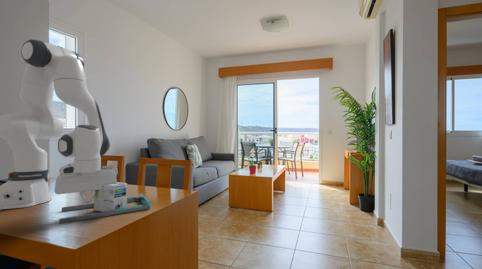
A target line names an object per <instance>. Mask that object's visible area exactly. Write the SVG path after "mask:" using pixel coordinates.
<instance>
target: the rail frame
mask: <svg viewBox="0 0 482 269" xmlns="http://www.w3.org/2000/svg"><path fill="white" fill-rule="evenodd" d="M133 202H141V204H139V205H133V206H127V207H125V208H118V209H115V210H112V211H106V212H102V211H98V212H94V213H87V214H82V215H74V216H69V217H68V216H67V217H62V218H59V220H58V224H59V225H61V224H66V223H67V224H68V223H73V222H78V221H85V220H91V219H97V218H103V217H109V216H110V217H111V216H115V215H121V214H128V213H134V212H140V211H145V210H150V209H151V208H152V207H151V201H150V199H149V198H147V196H145V195H144V194H143V193H139V196H138V197H136V196H131V197H127V203H133ZM91 208H94V202H90V203H83V204H78V205H70V206H63V207H61V213H63V212H70V211H76V210H84V209H91Z"/></svg>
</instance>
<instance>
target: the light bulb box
mask: <svg viewBox="0 0 482 269" xmlns="http://www.w3.org/2000/svg"><path fill="white" fill-rule="evenodd" d="M93 198H94V200H93V203H94V207H93V211H95V212H96V211H97V212H106V211H112V210H115V209H118V208H125V207H128V206H127V205H128V202H127V198H128V183H127V182H119V181H117V183H115V184H103V185H102V189H101V190H95V194H94V196H93Z"/></svg>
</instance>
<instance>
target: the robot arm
mask: <svg viewBox="0 0 482 269" xmlns="http://www.w3.org/2000/svg"><path fill="white" fill-rule="evenodd" d="M20 51H21V52H20V53H21V57H22V59H23V61H24V62H25V63H26V66H25V68H24V71H23V74H22V79H21V86H20V91H19V99H20V101H21V102H22V103H23V104H24V105H26V106H28V108H29V109H30V114H24V113H23V114H22V113H8V114H7V113H6V114H1V115H0V138H1V140H4V141H5V142H6V143H7V144H8V145H9V147H10V149H11V150H12V153H13V158H14V159H13V160H14V171H10V172H8V175H7V179H8V181H6V182H5V183H3V184H1V185H0V210H9V209H19V208H20V209H21V208H30V207H33V206H35V205H39V204H43V203H46V202H49V201H51V200H52V199H53V198H52V196H51V193H50V188H49V181H50V170H49V168H48V152H47V151H46V150H45V149H43V148H40V147H39V146H38V144H37V142H36V140H50V139H54V138H55V139H56V138H58V137H59V139H58V142H57V151H58V153H60V155H61V156H63V157H65V158H74V159H73V162H72V163H69V164H66V165H62V166H61V167H59V170H58V173H59V174H58V175H57V177H56V179H55V184H54V193H55V194H56V195H63V194H73V193H74V194H75V193H79V195H80V198H81V199H82V200H83V201H82V204H90V203H93V198H94V194H95V190H101V189H102V185H103V184H115V183H117V182H118V181H117V175H118V173H119V171H118V167H117V166H114V165H112V164H111V165H102V157H103V156H104V155H105V154H106V153H108V151H109V150H110V146H111V144H110V139H109V137H108V135H107V132H106V129H105V125H104V122H103V118H102V114H101V111H100V108H99V105H98V101H97V100H96V98H94V96H92V94H91V93H90V91H89V89H88V86H87V78H86V77H87V76H86V72H85V69H84V68H85V61H84V58H83V56H81V54H79V53H78V52H75V51H74V50H73V51H71V50H70V49H68V48H65V47H63V46H60V45H55V44H52V43H49V42H45V41H42V40H38V39H32V38H31V39H28V40H27V41H25V42H24V43H23V44H22V47H21V50H20ZM54 93H55V96H56V97H57V98H58V99H59V100H60V101H62V102H63V103H64V104H66V105H68V106H70V107H73V108H76V109H78V110H79V111H81V112H83V113H84V114H85V116H86V118H87V122H88V124H79V125H76V126H75V128H74V130H73V131H71V132H69V133H65V134H64V135H63V134H62V133H63V131H64V124H63V122H62V121H61V119H60V118H58V116H57V115H56V113H55V110H54V108H53V102H54V101H53V99H54ZM61 134H62V136H61ZM60 136H61V137H60ZM85 192H90V195H89V197H85V195H84V194H85Z"/></svg>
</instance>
